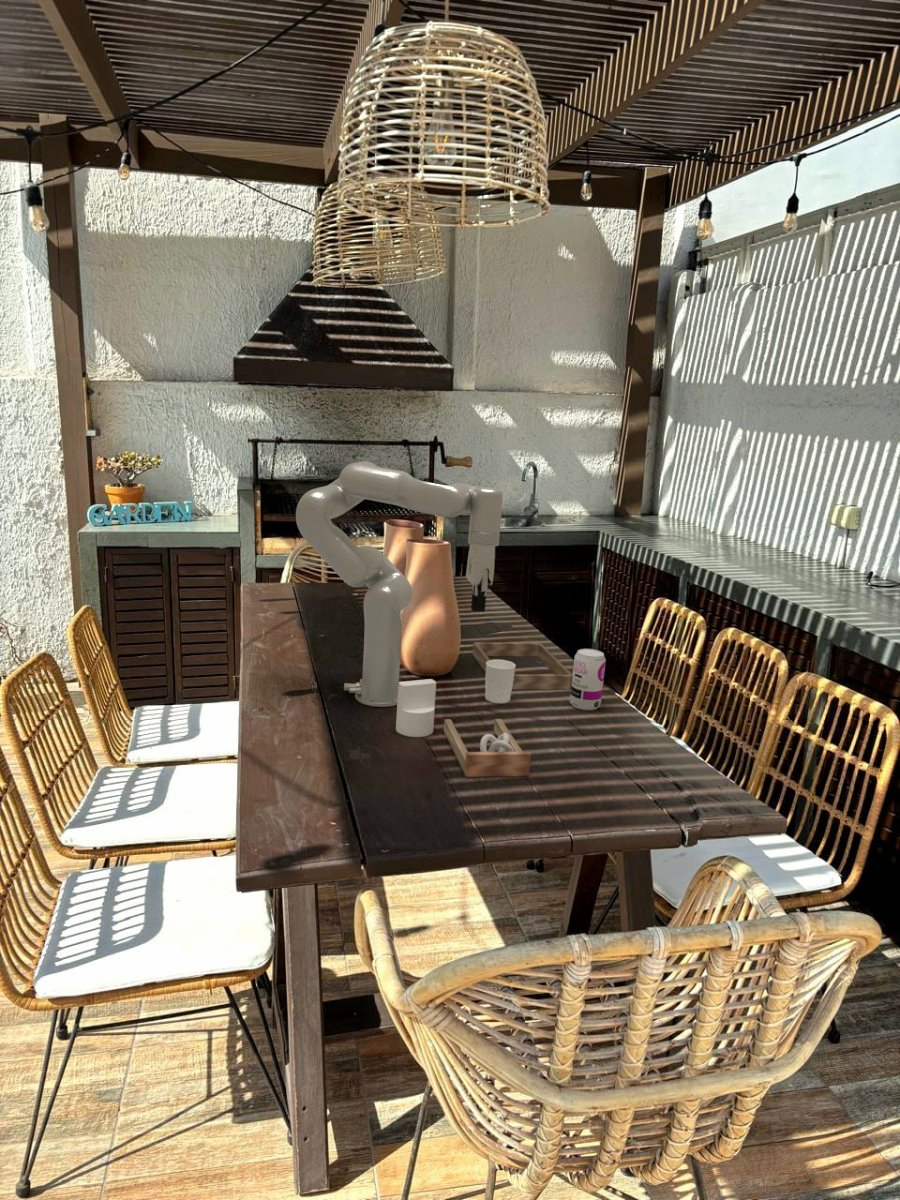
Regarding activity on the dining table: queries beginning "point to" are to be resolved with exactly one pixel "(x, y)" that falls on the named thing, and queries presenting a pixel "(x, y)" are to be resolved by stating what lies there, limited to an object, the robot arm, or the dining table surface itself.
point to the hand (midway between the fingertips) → (477, 610)
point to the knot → (496, 743)
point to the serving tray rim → (556, 681)
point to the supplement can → (587, 679)
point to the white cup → (499, 680)
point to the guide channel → (489, 755)
